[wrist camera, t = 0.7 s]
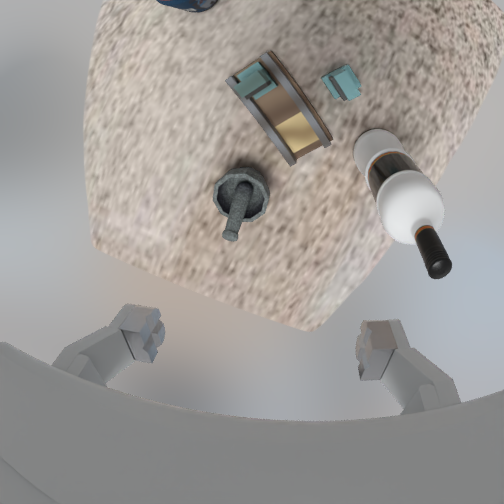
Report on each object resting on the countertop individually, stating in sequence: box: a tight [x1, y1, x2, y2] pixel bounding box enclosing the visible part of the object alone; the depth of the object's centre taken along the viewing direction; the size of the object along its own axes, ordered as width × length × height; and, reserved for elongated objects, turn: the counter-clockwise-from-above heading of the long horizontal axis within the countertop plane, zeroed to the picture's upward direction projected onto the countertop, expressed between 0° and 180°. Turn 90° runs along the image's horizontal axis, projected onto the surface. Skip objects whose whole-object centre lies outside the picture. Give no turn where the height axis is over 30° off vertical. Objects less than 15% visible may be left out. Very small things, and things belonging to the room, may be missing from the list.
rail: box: [225, 51, 333, 166], centre depth 38 cm, size 18×9×10 cm, turn 37°
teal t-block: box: [321, 65, 361, 101], centre depth 33 cm, size 5×4×8 cm
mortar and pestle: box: [213, 167, 270, 241], centre depth 48 cm, size 11×9×12 cm
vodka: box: [353, 129, 452, 279], centre depth 32 cm, size 9×9×30 cm
